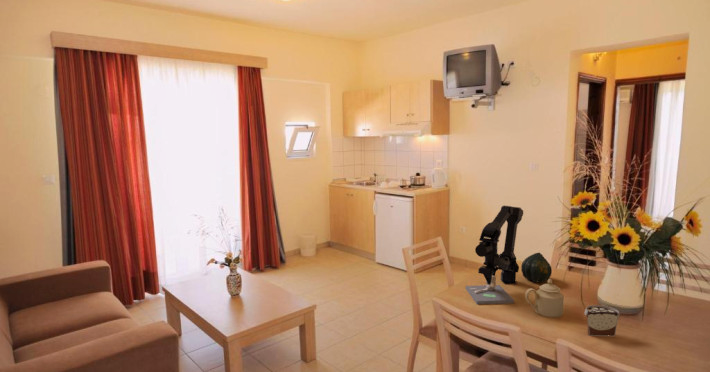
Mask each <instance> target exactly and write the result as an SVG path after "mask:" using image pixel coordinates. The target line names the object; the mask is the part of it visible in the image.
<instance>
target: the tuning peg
mask: <svg viewBox="0 0 710 372" xmlns="http://www.w3.org/2000/svg"><path fill="white" fill-rule="evenodd" d="M496 280H497V275H495V276H493V275H492V279H491V284H490V285H489V284H488V283H487V281H486V280H485V285H486V289H482V290H478V291H475V293H476V292H481V291H485V290H489V291H494V290H495V287H496V285H497V281H496Z"/></svg>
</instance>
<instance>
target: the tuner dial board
mask: <svg viewBox="0 0 710 372" xmlns="http://www.w3.org/2000/svg"><path fill="white" fill-rule="evenodd" d="M486 285H487V284H485V285H483V284H482V285H465V290H466V292H468V294H469V295H470V297H471V298H472V300H473V301H474V302H475V304H476V305H491V304H492V305H497V304H514V303H515V299H514V298H513V297H512V296H511V295H510V294H509V293H508V292H507V291H506V290H505V289H504V287H502V286H501V285H500V284H496V287H495V290H494V291H489V290H485V291H481V292H476V293H475V291H478V290H482V289H486Z"/></svg>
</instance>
